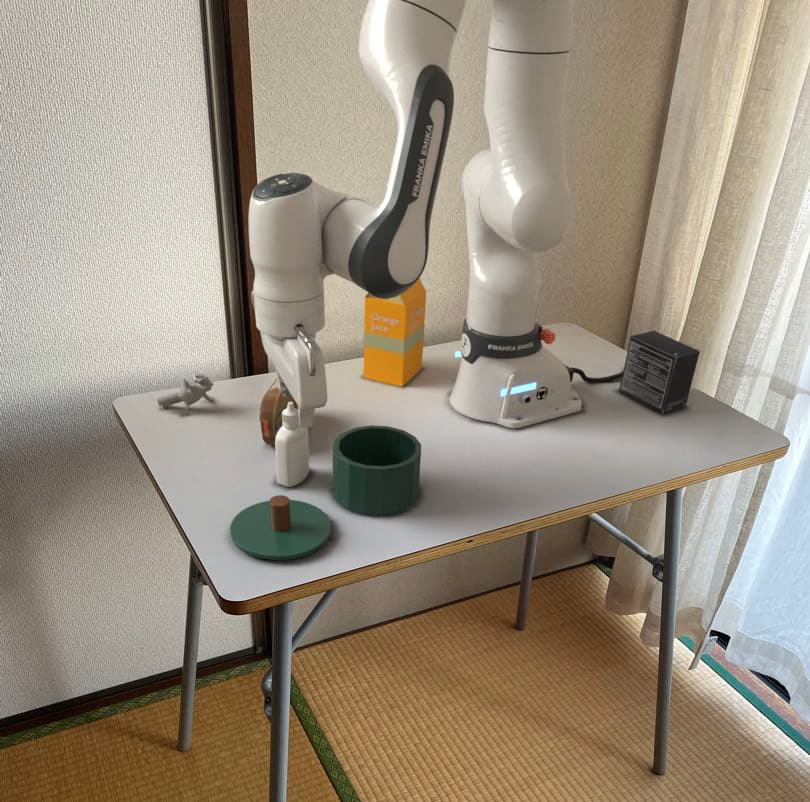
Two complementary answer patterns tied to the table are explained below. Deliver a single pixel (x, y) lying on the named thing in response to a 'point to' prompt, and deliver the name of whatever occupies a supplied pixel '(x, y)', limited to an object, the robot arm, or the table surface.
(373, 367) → the orange juice
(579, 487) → the table surface
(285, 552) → the lid
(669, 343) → the small box
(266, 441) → the tin
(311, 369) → the robot arm
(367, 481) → the pot
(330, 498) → the table surface
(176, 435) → the table surface
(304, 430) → the eye dropper bottle
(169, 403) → the grey creature figurine
